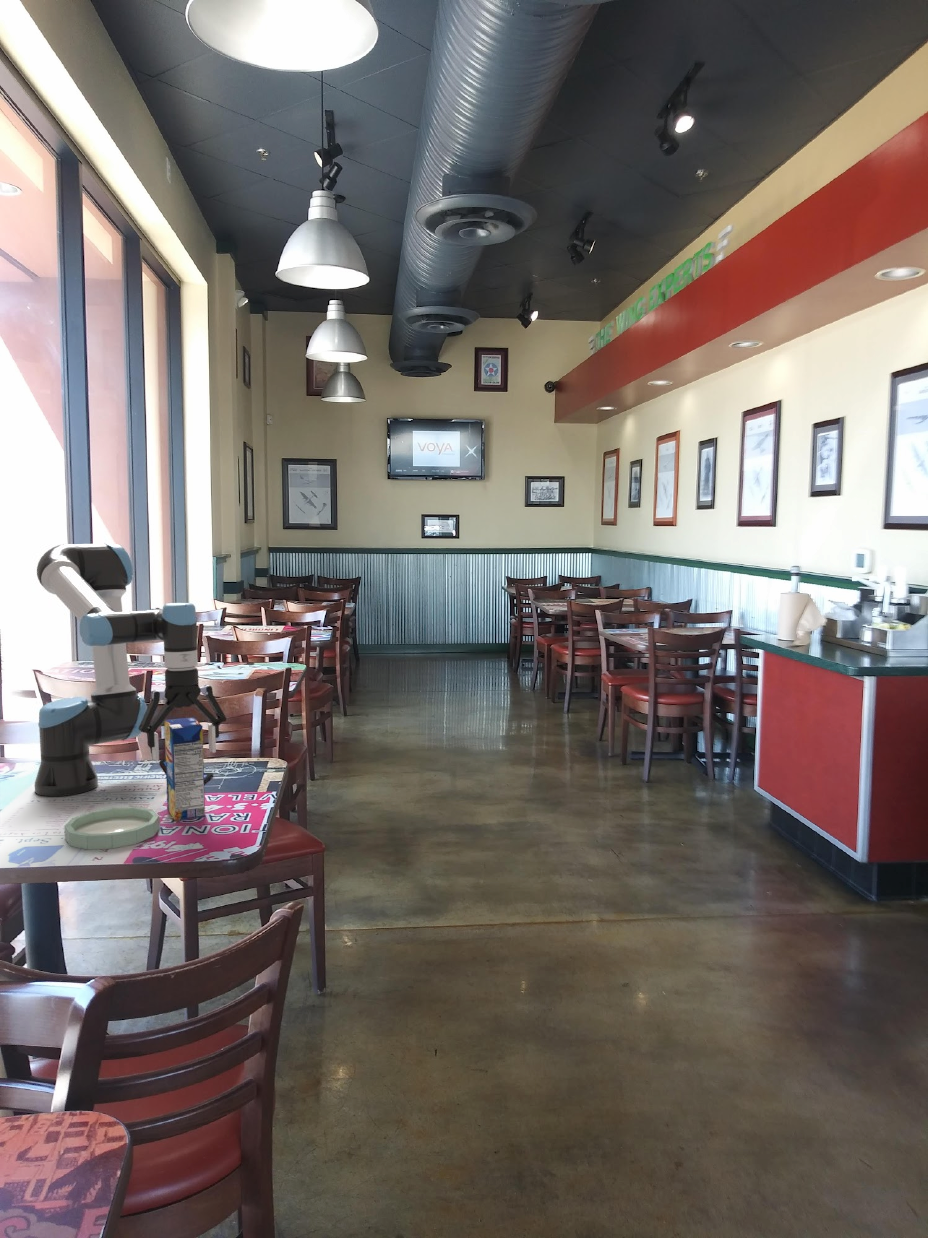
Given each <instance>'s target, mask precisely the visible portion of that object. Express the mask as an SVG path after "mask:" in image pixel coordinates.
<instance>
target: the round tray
mask: <svg viewBox="0 0 928 1238" xmlns="http://www.w3.org/2000/svg"><path fill="white" fill-rule="evenodd" d="M160 825H161V824H160V815H159V814H158V813H157V812H156V811H155V810H154V809H152V808H145V807H141V806H140V807H139V806H119V807H117V806H116V807H115V806H114V807H108V808H104V809H97V810H91V811H88V812H85V813H83V814H80V815H78V816H75V817H72V818H71V819H70V820H69V821H68V822H67V823H66V824H64V840H65V841H66V842H68V843H67V844H68V845H69V846H70V847H73V848H78V849H84V850H107V849H108V850H109V849H117V848H121V847H122V848H123V847H126V846H132V845H137V844H139V843H141V842H143V841H145V840H146V841H147V840H148V839H150V838H153V837H155V835H156V834H157V833H158V831H159V830H160V827H161V826H160Z"/></svg>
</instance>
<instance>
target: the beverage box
mask: <svg viewBox="0 0 928 1238" xmlns="http://www.w3.org/2000/svg"><path fill="white" fill-rule="evenodd" d="M163 722H164V742H165V743H164V745H165V747H164V748H165V757H166V774H165V776H166V777H165V779H166V780H165V782H166V803H167V804H166V806H167V807H166V808H167V810H168V812H169V813H170V815H171V816H172V819H173V820H174V822H180V821H186V820H192V819H198V818H205V817H206V811H205V810H206V808H205V807H206V804H205V803H206V801H205V800H206V799H205V797H206V796H205V783H204V773H205V770H204V769H205V767H204V737H203V734H204V733H203V731H204V730H203V725H202V724H201V723H200V722H199V721H198V720H197V719H196V718H195V717H194V716H193V717H183V718H172V719H164V721H163Z"/></svg>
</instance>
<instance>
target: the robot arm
mask: <svg viewBox="0 0 928 1238" xmlns="http://www.w3.org/2000/svg"><path fill="white" fill-rule="evenodd" d="M36 576H37V579H38V582H39V583H40V585H41V586H42V588H44V590H46V591H47V592H48V593H50V594H52V595H55V596H56V597H57V598H58V599H59V600H60V601H61V602H62V603H63V604H64V605H65V606H66V608H67V609H68V610H69V611H70V612H71V613H72V614H73V615H74V616H75V617H76V619H77V620H78V621H79V634H80V637H81V640H82V642H83V644H85V646H89V647H92V648H91V649H92V650H91V652H92V658H93V670H94V679H95V688H94V690H92V692H91V693H90V700H91V701H88V699H87V698H86V697H84V696H75V697H66V698H61V699H57V700H54V701H51V702H48V703H46V704H44V705H43V706H42V707H41V708H40V710H39V712H38V714H39V716H38V724H37V725H38V728H39V729H38V731H39V746H40V747H39V748H40V750H39V751H40V764H39V767H38V771H37V774H36V778H35V781H34V792H36V793H37V795H39V794H40V795H39V796H43V795H45V796H44V797H62V796H64V797H65V796H72V795H78V794H83V793H87V792H89V791H92V790H94V789H95V788H96V787H98V785H99V782H98V781H99V780H98V774H97V772H96V769H95V767H94V764H93V763H92V759H91V756H90V746H95V745H99V744H106V743H111V742H119V741H127V740H129V739H133V738H136V737H137V738H138V737H139V736H140V735H141V734H142V733H145V734H146V738H147V741H146V742H147V746H148V747H149V748H151V752H152V753H151V755H152V757H151V758H152V760H153V761H154V762H160V750H159V747H160V746H159V733H157V732H156V731H157V730H158V729H159V727H160V726H161V725H162V723H163V722H165V721H164V720H166V718H167V717H168V715H169V713H170V712H172V711H173V710H174V709H175V708H177V709H181V708H184V707H186V708H191V707H192V706H194V707H195V708H196V709H197V710H198V711H199V712H200V713H201V714H202V715H203V716H204V717H205V718H206V719H207V720H208V721H209V722H210V723H211V724H207V727H208V728H207V729H208V730H207V731H208V751H209V752H210V753H212V754H214V753H217V745H216V742H217V741H216V739H218V738H220V737H219V736H220V725H221V723H224V722H226V721H227V716H226V715H225V714H224V711H223V710H222V708H221V706H220V704H219V703H218V701H217V699H216V697H215V696H214V694H213V693H214V692H213V687H212V686H211V685H208V684H205V685H203V686H201V687H200V686H199V669H198V668H197V666H199V665H198V664H199V663H198V662H199V661H198V633H197V631H198V629H197V627H198V626H197V621H198V618H197V613H196V610H197V609H196V606H195V604H194V603H191V602H172V603H171V602H169V603H165V604H164V605H163V606H162V609H161V608H158V607H157V608H150V609H149V608H148V609H146V610H134V611H123V603H122V597H123V595H125V593H126V592H127V586H129V585H130V584H131V583H132V581H133V576H134V568H133V564H132V561H131V557H130V555H129V553H128V552H127V550H126V549H125V548H124V547H123V546H121V545H119V544H117V543H116V544H115V543H114V544H113V543H106V542H105V543H77V544H76V543H63V544H58V545H55V546H54V547H51V548H50V549H47V551H46V552H44V554H43V555H42V556H41V557H40V559H39V560H38V563H37V567H36ZM154 641H157V642H158V641H160V642H161V641H163V653H164V654H163V655H164V656H163V659H164V660H163V661H164V667H165V668H166V669H165V671H164V679H165V680H164V681H165V682H164V684H165V687H164V688H165V689H164V690H163V691H161V690H159V691H157V690H156V689H154V690H152V691H151V697H150V702H149V703H148V705H147V703H146V699H145V698H144V697H143V695H140V694H138V693H137V692H138V691H137V688H136V687H134V686H133V685H132V684H131V683H130V671H129V661H128V652H127V644H132V643H133V644H134V643H135V644H136V643H145V642H146V643H147V642H154ZM201 694H202V695H203V696H204V697H205V698H206V700H207V701H208V703H209V705H210V707H211V708H212V711H213V712H214V714H215V716H214V714H212V713H211V711H210V710H208V709H207V708H206V707H205V705H204V704H203V703H202V702H201V701H200V700H199V699H198V698H199V696H200V695H201ZM164 697H165V699H166V701H165V703H164V704H163V706H162V707H161V709H160V710H159V712H158V713H157V715H155V713H156V711H157V708H158V706H159V704H160V701H161V700H162V699H163V698H164ZM154 715H155V717H154ZM153 717H154V719H153ZM152 719H153V720H152ZM36 793H35V794H36Z"/></svg>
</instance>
